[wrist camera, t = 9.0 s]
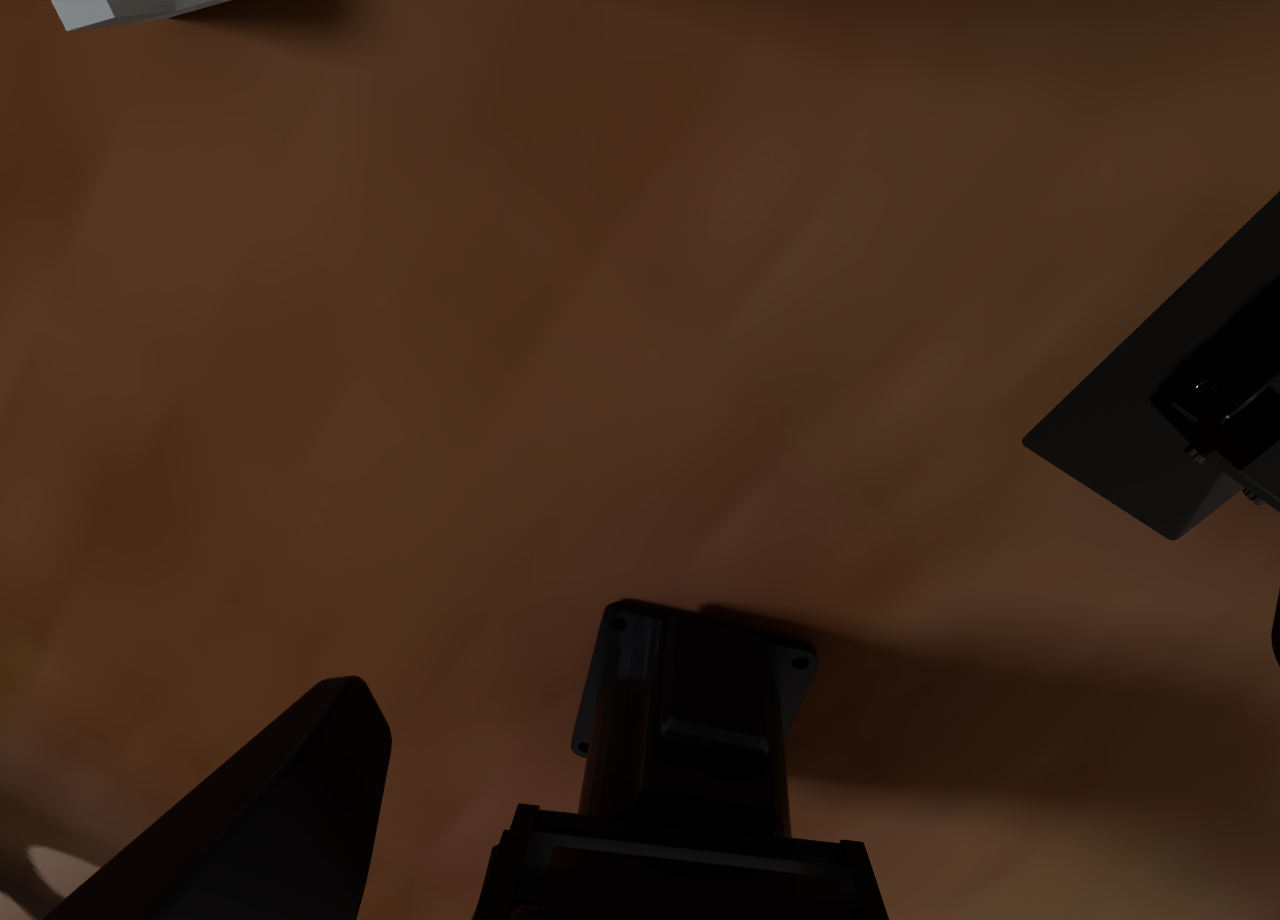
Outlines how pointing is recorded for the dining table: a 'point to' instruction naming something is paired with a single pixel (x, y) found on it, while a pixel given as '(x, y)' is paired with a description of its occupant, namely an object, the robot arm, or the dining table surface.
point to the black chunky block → (1185, 395)
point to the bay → (122, 11)
